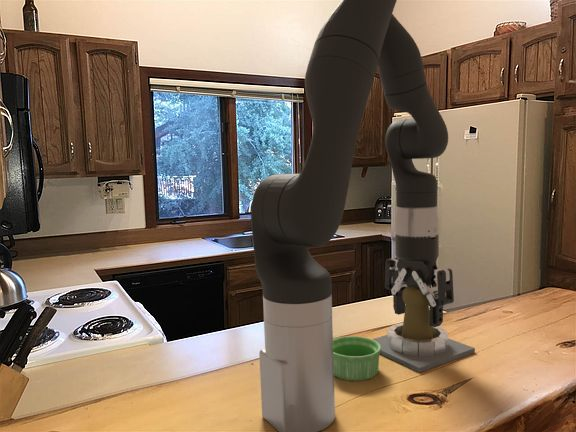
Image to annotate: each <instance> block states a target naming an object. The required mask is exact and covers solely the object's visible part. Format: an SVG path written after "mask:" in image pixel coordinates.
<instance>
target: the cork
mask: <svg viewBox="0 0 576 432" xmlns="http://www.w3.org/2000/svg"><path fill="white" fill-rule="evenodd" d="M403 301H404V303H405V313H403V322H402V323H403V330H402V337H404V338H407V339H414V340H431V339H433V332H432V326H430V305H431V304H430V302H429V300H428V298H427V297H426V296H425V295H423V293H422V291H421V289H420V290H419V289H416V288H414V287H406V288H405V289H404V290H403Z"/></svg>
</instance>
